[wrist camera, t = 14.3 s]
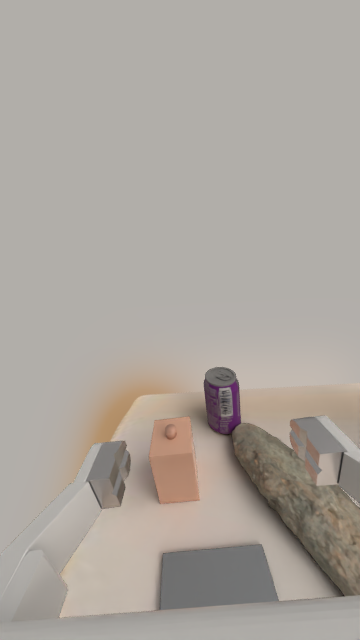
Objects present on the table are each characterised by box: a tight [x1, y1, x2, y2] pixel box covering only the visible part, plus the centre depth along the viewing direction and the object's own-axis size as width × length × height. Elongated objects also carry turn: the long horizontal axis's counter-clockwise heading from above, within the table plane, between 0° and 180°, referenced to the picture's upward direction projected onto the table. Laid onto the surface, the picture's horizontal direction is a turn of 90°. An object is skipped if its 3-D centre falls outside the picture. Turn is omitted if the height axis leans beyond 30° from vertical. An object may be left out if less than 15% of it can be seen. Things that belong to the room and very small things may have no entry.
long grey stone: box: [232, 423, 360, 596], centre depth 19 cm, size 35×5×10 cm
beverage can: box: [204, 367, 241, 434], centre depth 36 cm, size 7×7×12 cm
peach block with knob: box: [149, 417, 200, 504], centre depth 27 cm, size 6×6×11 cm
